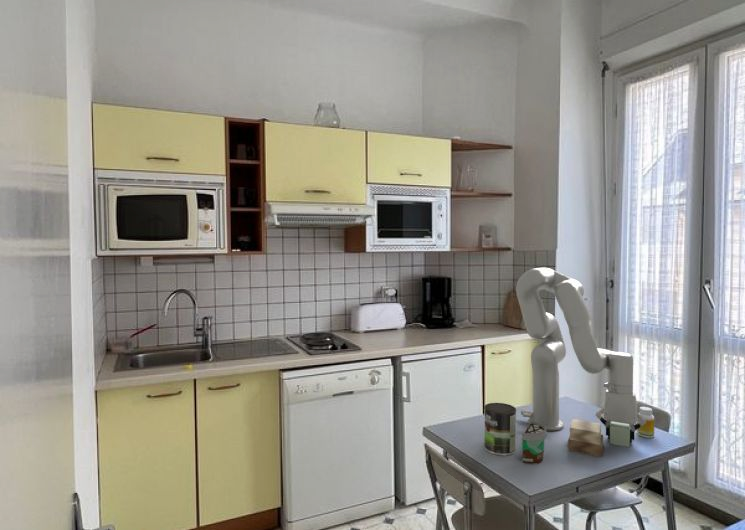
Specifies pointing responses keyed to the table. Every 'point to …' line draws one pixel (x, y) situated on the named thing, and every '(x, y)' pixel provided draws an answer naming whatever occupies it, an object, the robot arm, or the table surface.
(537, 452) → the food container
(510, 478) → the table surface
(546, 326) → the robot arm
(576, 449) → the walnut block
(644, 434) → the supplement bottle
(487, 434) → the coffee can
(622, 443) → the sage block
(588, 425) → the maple block
